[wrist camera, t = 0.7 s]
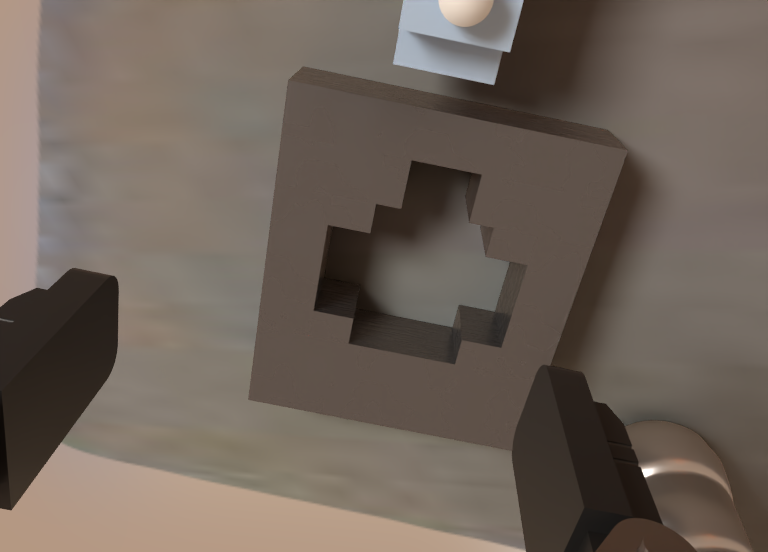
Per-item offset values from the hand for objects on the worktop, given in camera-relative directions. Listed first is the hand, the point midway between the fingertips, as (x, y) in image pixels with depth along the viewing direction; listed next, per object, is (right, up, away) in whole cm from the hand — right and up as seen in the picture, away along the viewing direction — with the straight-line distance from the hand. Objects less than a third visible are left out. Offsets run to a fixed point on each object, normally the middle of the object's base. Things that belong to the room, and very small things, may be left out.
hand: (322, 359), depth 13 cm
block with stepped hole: (+3, +3, +21) cm, 21 cm away
